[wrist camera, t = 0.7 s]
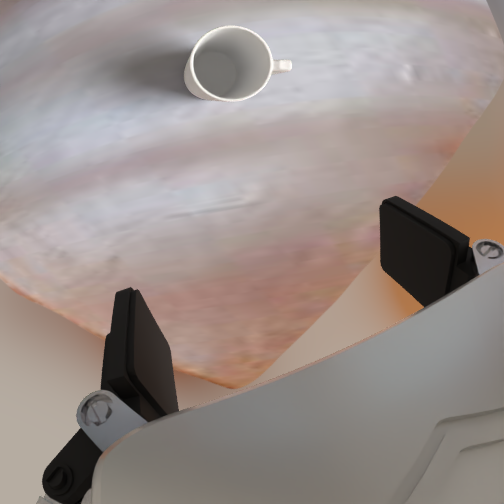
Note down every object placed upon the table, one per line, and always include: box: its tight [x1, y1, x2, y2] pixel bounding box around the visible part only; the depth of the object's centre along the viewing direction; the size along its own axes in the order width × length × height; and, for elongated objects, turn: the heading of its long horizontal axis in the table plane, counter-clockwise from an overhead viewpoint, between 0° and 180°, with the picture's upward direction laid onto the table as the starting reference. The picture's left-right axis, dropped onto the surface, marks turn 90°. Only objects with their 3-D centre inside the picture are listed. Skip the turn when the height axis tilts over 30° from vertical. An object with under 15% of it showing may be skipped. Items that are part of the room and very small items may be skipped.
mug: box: [184, 26, 292, 102], centre depth 27 cm, size 10×7×12 cm, turn 91°
